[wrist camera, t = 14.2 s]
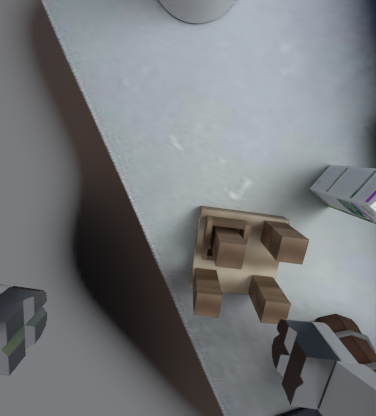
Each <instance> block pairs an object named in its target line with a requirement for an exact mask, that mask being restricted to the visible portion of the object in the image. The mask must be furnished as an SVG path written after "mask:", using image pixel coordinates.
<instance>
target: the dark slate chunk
mask: <svg viewBox="0 0 376 416" xmlns="http://www.w3.org/2000/svg"><path fill="white" fill-rule="evenodd" d="M283 416H322V415H321V413H320V412H319V410H318V409H310V408H303V407H301V408H300V409H296V410H295V411H290V412H289V413H286V414H285V415H283Z"/></svg>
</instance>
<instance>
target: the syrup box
mask: <svg viewBox="0 0 376 416" xmlns="http://www.w3.org/2000/svg"><path fill="white" fill-rule="evenodd" d="M310 190H311V191H312V192H313V193H314V194H315V195H316V196H317V197H319V198H320V199H321V200H322V201H323V202H325V203H326V204H327V205H328V206H329V207H331V208H334V209H337V210H340V211H342V212H345V213H348V214H350V215H353V216H356V217H358V218H361V219H364V220H367V221H369V222H372V223H375V224H376V168H364V167H350V166H338V165H330V166H329V167H328V168H327V169H326V171H325V172H324V173H323V174H322V175H321V176H320V177H319V178H318V179H317V181H316V182H315V183H314V184H313V185H312V186H311V187H310Z"/></svg>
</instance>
